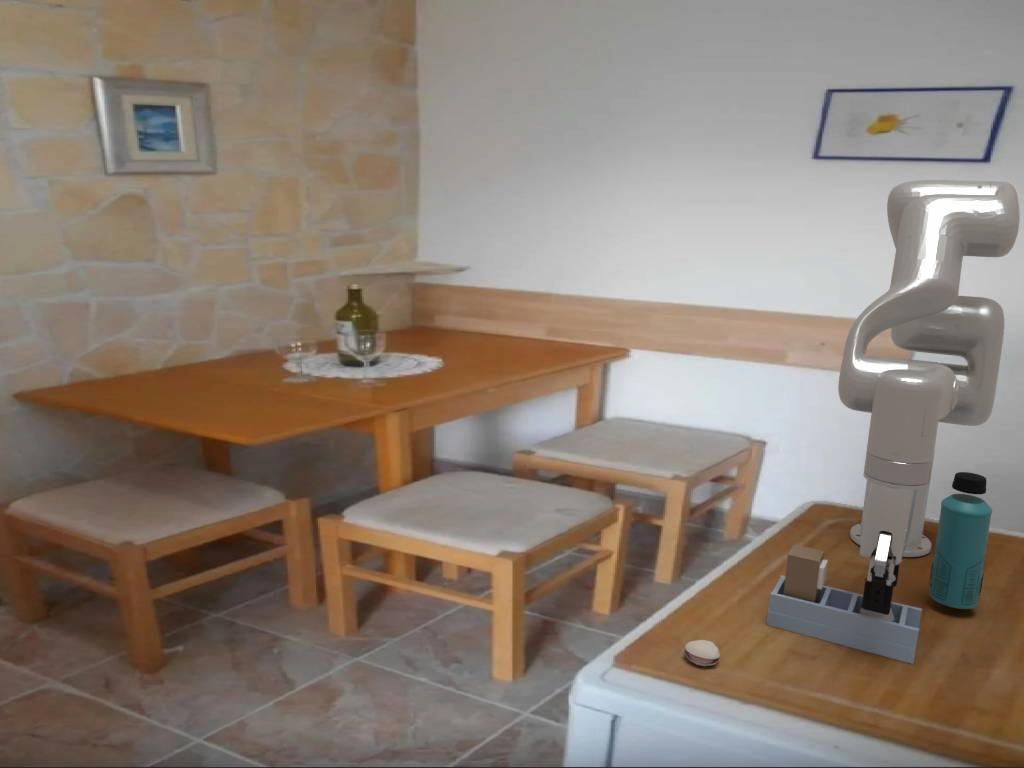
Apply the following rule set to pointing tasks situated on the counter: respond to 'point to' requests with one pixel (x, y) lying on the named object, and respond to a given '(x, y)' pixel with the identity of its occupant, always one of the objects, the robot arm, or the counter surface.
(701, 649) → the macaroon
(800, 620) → the blue-grey divided tray
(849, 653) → the counter surface
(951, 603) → the beverage bottle
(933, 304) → the robot arm
